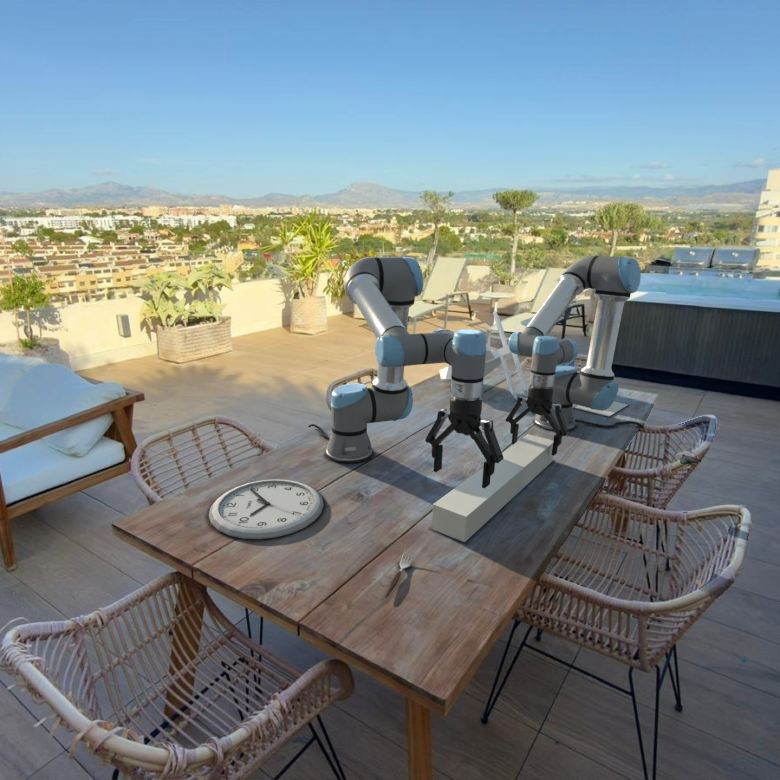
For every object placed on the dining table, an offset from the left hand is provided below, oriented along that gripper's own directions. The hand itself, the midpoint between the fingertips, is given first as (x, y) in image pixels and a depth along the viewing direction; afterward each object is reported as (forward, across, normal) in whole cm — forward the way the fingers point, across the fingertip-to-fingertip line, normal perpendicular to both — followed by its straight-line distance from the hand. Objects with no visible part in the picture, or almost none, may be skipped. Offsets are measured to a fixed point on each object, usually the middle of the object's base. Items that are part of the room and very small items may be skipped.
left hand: (461, 477), depth 129 cm
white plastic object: (+14, -49, +106) cm, 118 cm away
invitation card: (+14, +1, +122) cm, 123 cm away
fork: (+14, 0, -26) cm, 29 cm away
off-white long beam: (+14, 0, +25) cm, 28 cm away
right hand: (+9, 0, +49) cm, 50 cm away
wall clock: (+14, -45, -24) cm, 53 cm away
